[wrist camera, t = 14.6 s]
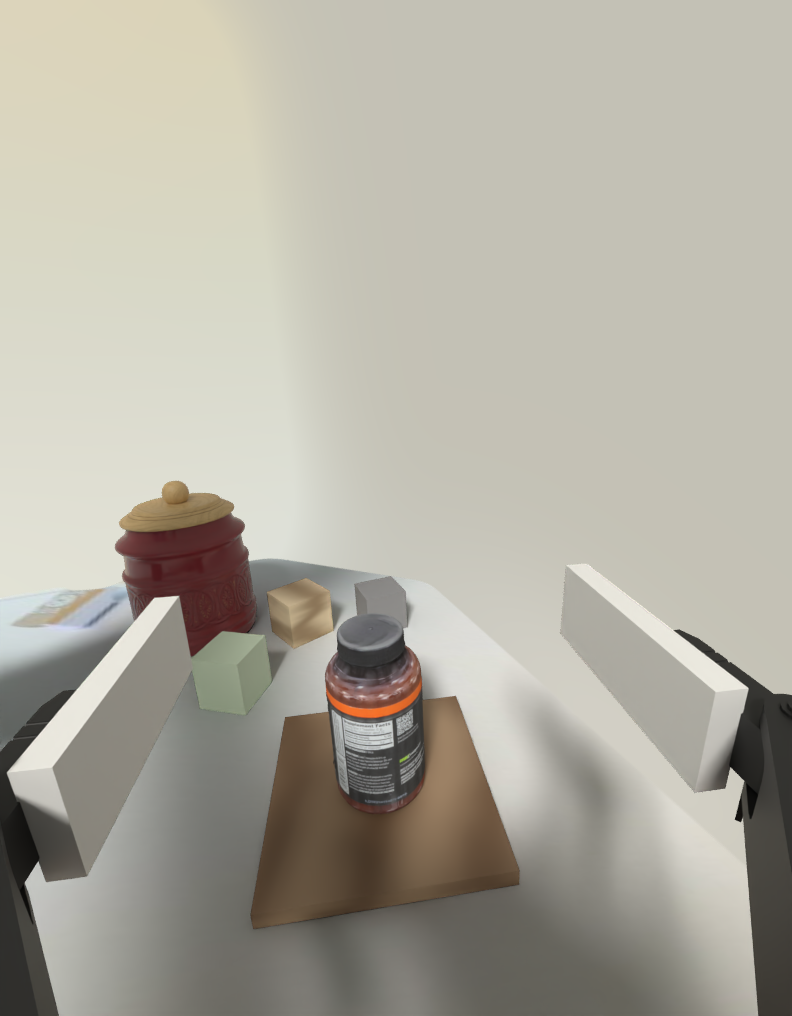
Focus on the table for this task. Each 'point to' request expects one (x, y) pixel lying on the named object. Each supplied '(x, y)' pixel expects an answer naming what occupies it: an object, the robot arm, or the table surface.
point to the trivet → (377, 829)
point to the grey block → (382, 598)
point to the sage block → (231, 672)
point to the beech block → (300, 612)
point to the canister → (189, 562)
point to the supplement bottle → (376, 715)
